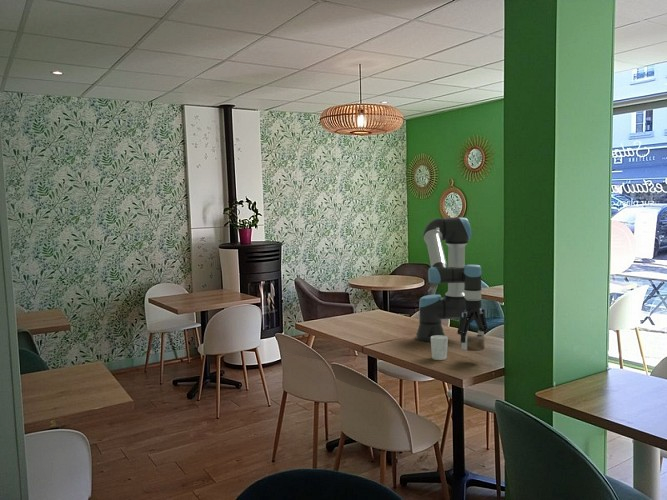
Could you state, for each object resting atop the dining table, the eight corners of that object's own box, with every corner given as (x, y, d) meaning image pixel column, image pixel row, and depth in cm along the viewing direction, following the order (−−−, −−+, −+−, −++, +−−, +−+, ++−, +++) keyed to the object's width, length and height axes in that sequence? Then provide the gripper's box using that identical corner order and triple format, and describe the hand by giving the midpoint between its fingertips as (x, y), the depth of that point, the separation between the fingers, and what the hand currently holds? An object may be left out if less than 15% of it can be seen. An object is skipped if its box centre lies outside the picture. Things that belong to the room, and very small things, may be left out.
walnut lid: (471, 343, 258) (471, 333, 258) (489, 348, 250) (489, 337, 249) (455, 347, 252) (455, 336, 252) (473, 352, 244) (473, 341, 243)
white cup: (450, 357, 260) (450, 336, 259) (444, 361, 253) (444, 339, 252) (434, 355, 264) (434, 334, 263) (428, 359, 257) (428, 338, 256)
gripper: (482, 295, 259) (482, 341, 261) (448, 301, 245) (448, 350, 247) (495, 297, 252) (495, 344, 255) (461, 303, 239) (461, 353, 241)
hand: (472, 347), depth 251 cm, fingers closed on walnut lid, 10 cm apart
